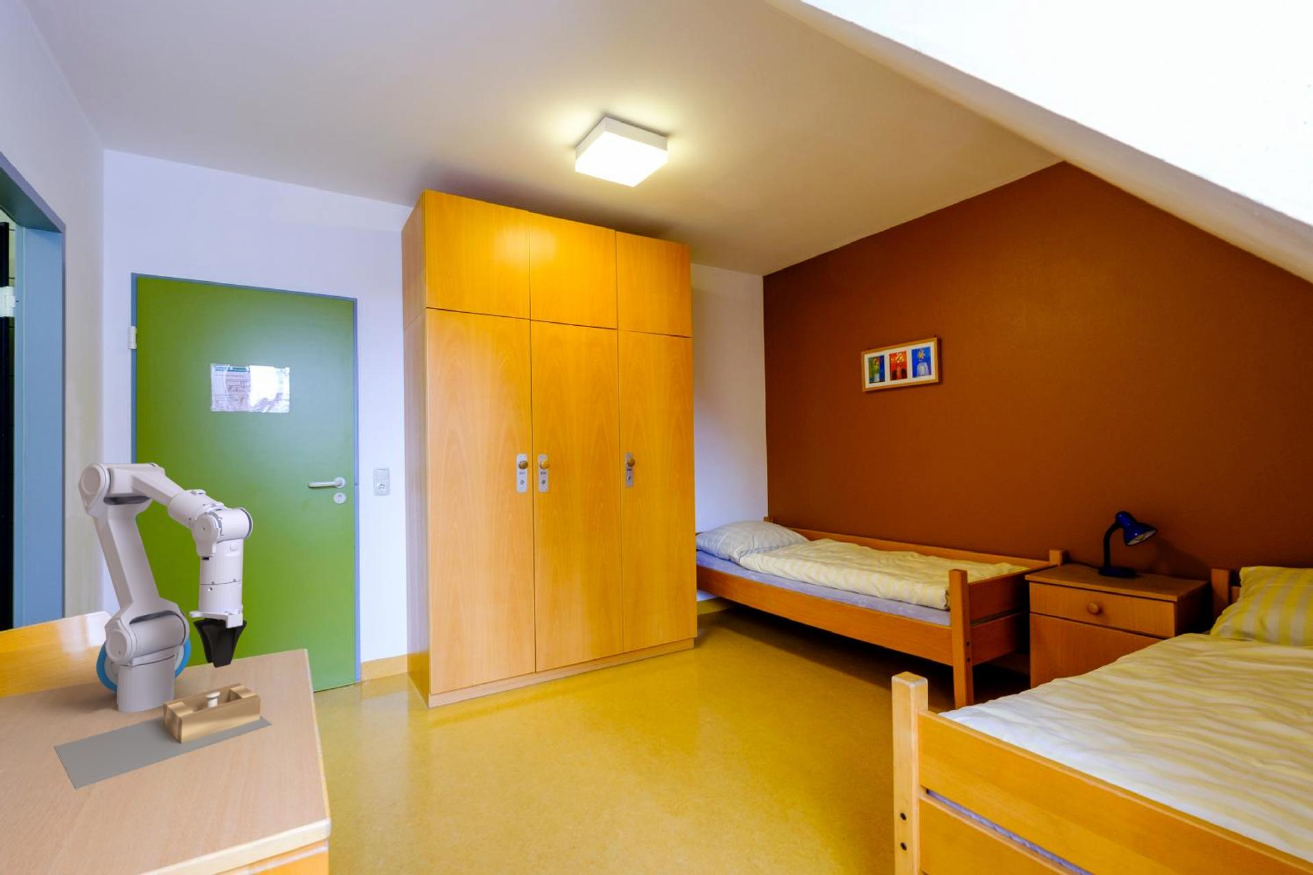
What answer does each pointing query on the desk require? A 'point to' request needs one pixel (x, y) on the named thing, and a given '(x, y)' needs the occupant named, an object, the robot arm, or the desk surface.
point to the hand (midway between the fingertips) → (218, 663)
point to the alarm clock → (109, 669)
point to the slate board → (135, 748)
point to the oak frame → (210, 712)
